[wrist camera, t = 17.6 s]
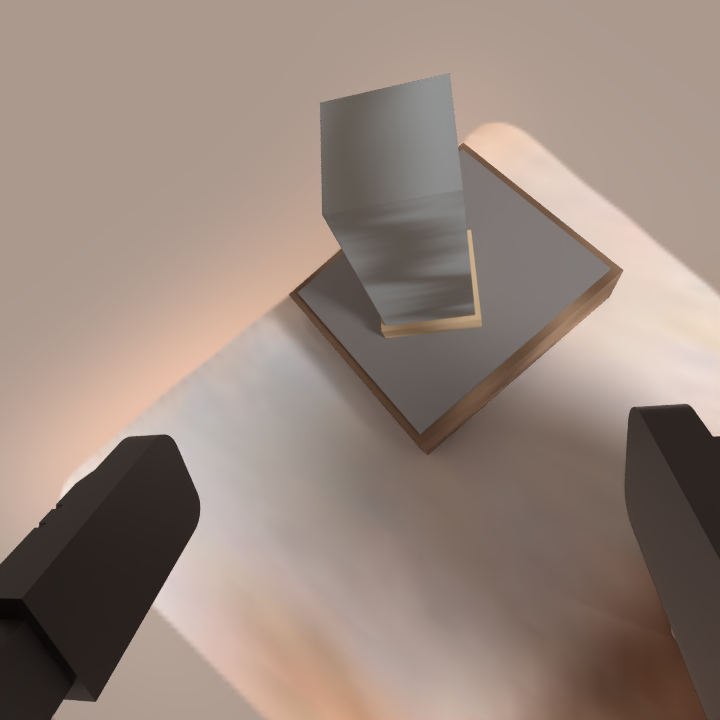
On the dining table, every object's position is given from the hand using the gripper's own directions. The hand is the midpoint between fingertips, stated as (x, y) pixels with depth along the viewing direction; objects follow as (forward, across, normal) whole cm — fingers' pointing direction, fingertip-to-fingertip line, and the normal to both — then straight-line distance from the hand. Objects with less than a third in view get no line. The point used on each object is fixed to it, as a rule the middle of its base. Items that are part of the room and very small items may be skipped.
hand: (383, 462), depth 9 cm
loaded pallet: (+22, +1, +5) cm, 23 cm away
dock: (+25, 0, +8) cm, 26 cm away
